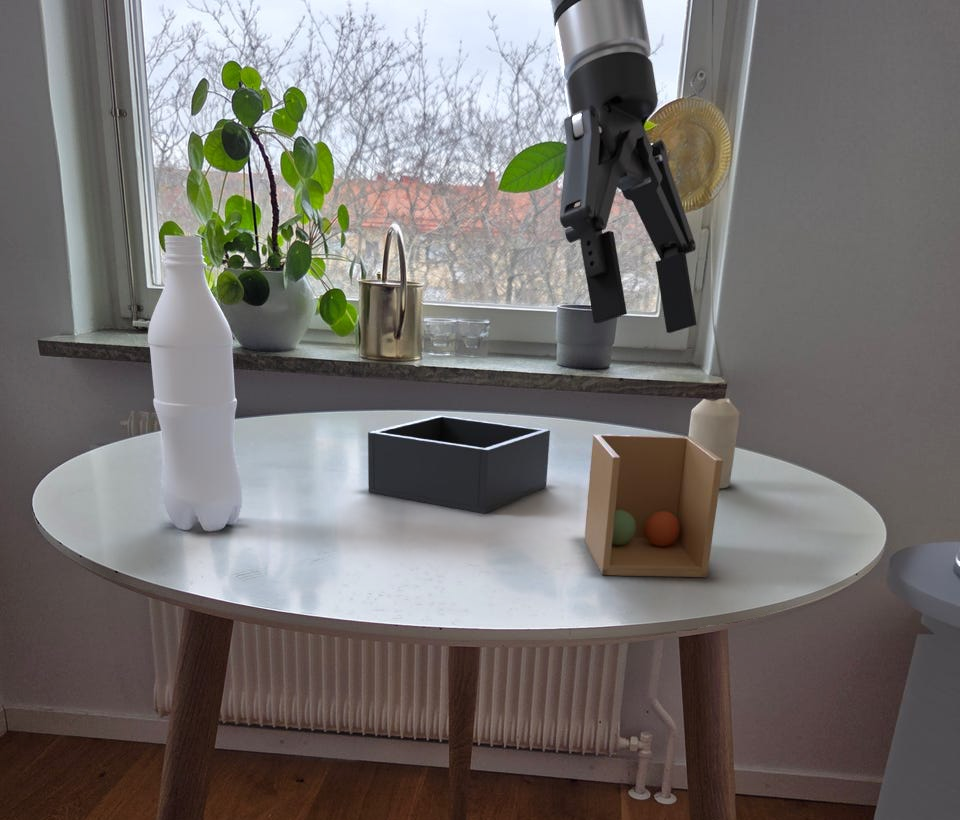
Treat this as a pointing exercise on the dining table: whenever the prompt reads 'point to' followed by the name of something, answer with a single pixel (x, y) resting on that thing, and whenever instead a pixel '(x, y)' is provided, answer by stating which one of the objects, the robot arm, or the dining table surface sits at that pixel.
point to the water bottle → (194, 393)
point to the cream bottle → (716, 431)
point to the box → (652, 503)
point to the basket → (458, 462)
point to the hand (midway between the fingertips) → (648, 324)
